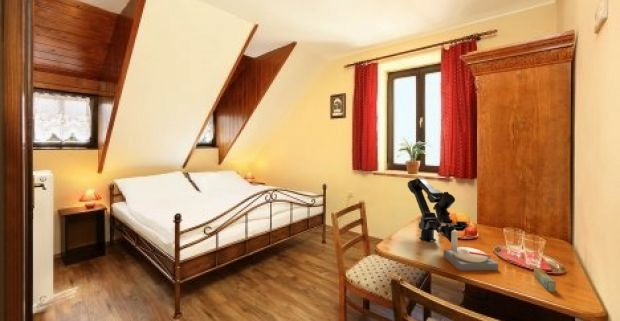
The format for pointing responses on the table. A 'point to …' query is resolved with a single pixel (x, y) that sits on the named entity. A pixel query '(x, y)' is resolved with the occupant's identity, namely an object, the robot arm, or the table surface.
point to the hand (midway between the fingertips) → (451, 242)
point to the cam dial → (466, 251)
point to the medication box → (544, 280)
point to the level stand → (470, 263)
